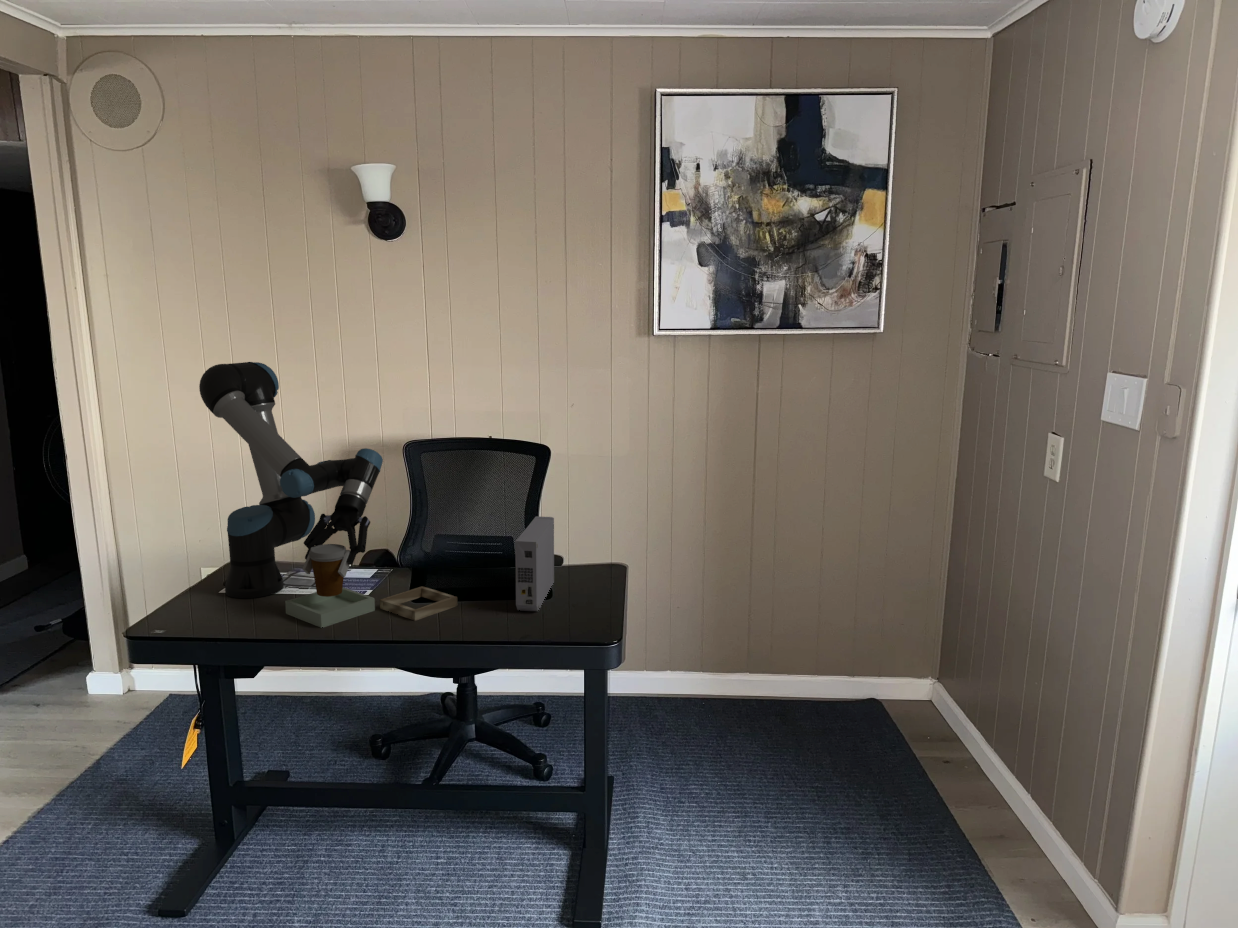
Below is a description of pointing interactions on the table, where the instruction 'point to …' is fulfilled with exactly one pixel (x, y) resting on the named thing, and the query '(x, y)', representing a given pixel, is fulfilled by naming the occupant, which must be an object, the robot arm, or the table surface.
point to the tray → (329, 607)
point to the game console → (534, 563)
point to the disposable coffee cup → (327, 568)
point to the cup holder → (442, 604)
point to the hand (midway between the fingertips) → (323, 573)
